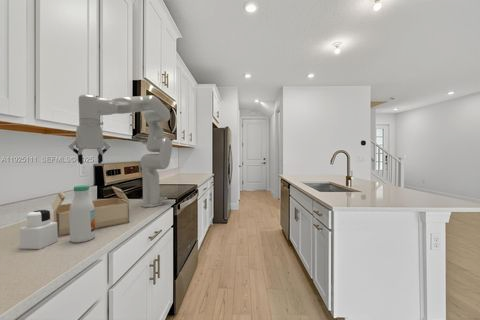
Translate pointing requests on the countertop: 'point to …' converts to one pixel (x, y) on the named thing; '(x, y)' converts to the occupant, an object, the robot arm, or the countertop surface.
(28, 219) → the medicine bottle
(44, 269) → the countertop surface
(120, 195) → the flap
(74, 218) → the milk bottle
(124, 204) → the carton
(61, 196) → the flap
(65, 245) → the countertop surface
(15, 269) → the countertop surface
